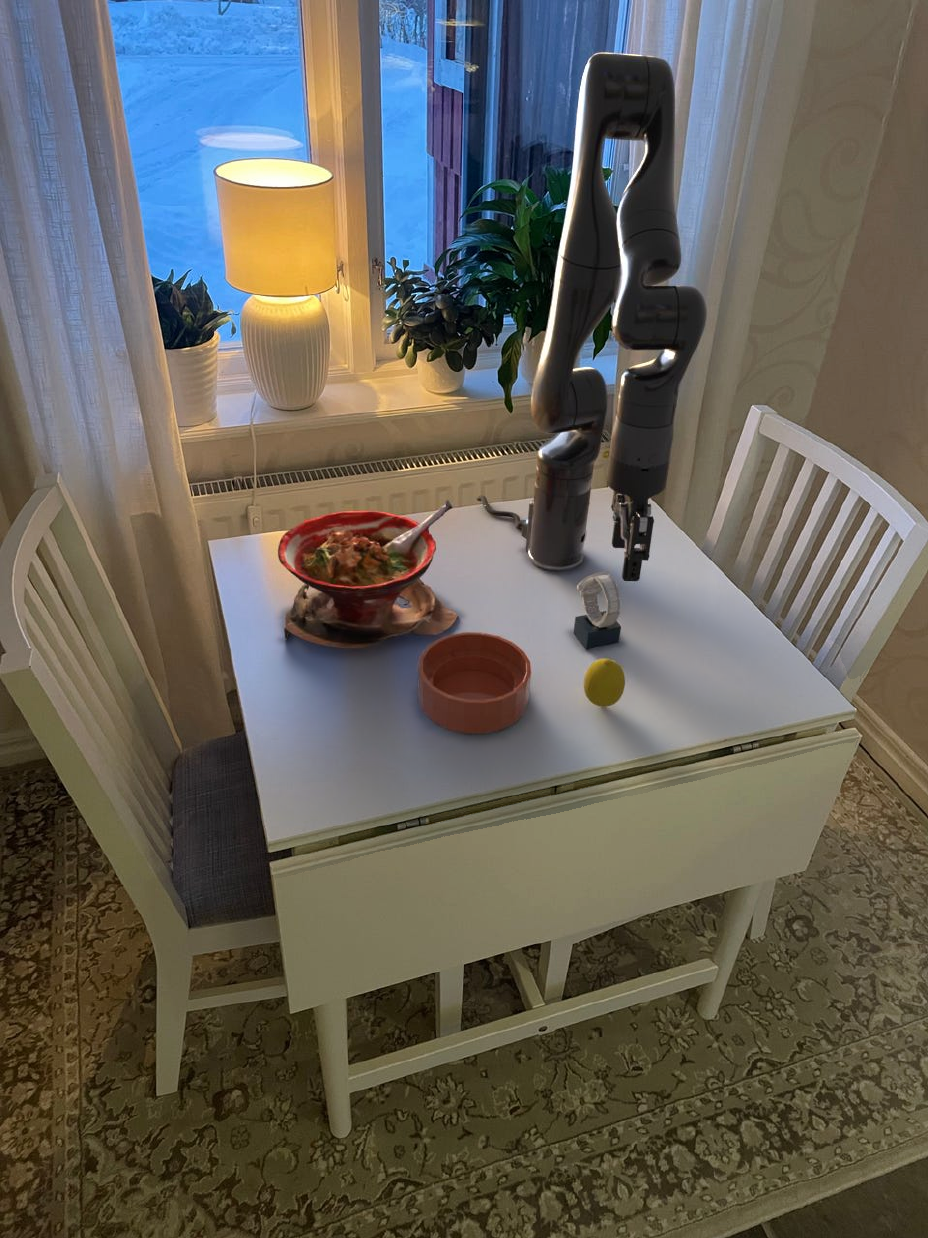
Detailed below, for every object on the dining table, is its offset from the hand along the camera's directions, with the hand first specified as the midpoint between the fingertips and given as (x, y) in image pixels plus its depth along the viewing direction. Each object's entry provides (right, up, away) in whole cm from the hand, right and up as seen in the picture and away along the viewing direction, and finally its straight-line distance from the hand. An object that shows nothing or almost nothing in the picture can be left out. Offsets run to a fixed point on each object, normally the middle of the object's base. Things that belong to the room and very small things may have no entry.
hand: (624, 563), depth 125 cm
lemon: (-3, -20, +5) cm, 20 cm away
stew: (-36, -6, +21) cm, 43 cm away
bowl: (-20, -19, +5) cm, 28 cm away
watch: (-2, -11, +17) cm, 20 cm away
